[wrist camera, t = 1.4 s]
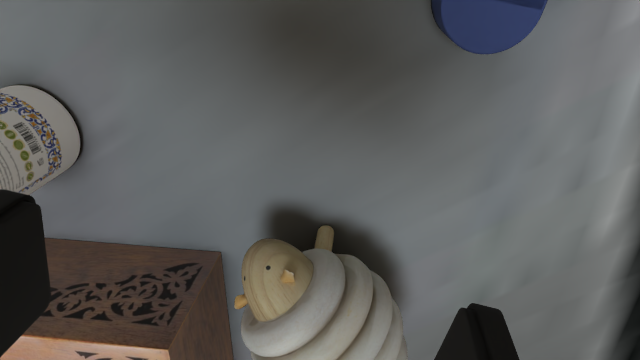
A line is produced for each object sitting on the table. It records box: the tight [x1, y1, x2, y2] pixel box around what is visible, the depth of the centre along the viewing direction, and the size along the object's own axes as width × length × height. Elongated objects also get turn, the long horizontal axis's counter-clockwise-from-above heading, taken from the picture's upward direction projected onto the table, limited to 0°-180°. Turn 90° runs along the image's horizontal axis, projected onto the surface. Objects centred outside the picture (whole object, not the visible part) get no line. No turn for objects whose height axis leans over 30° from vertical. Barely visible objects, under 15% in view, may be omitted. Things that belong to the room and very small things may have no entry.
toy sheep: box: [235, 225, 407, 360], centre depth 30 cm, size 11×17×11 cm, turn 41°
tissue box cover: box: [0, 238, 233, 360], centre depth 35 cm, size 26×14×10 cm, turn 89°
